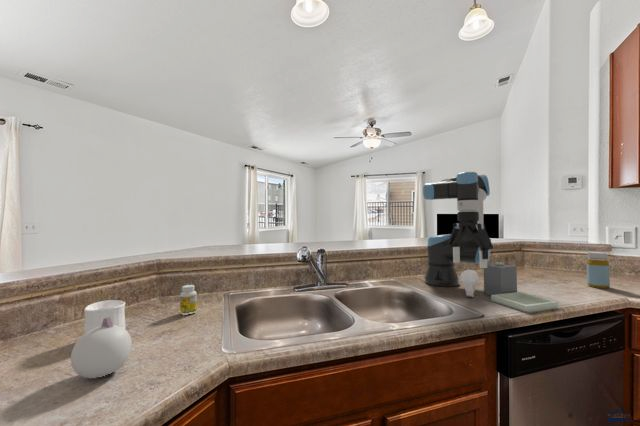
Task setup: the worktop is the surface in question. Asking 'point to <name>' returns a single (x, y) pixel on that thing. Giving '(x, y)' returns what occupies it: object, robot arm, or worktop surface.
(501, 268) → the box
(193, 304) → the supplement bottle
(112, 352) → the ornament
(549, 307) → the tray
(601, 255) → the bottle
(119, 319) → the cup
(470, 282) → the light bulb
